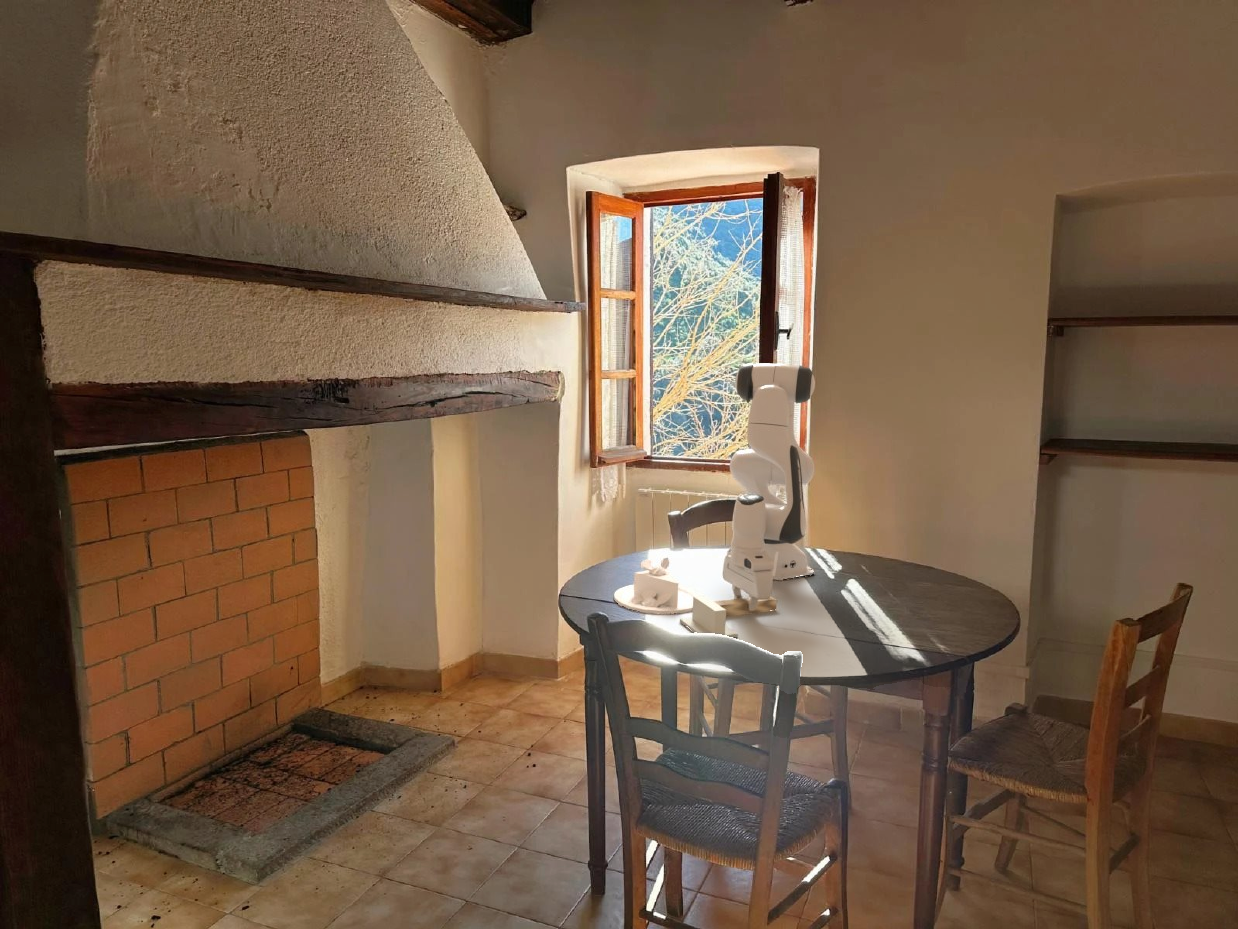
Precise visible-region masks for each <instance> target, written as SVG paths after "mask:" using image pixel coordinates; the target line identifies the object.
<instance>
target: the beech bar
mask: <svg viewBox="0 0 1238 929" xmlns="http://www.w3.org/2000/svg"><path fill="white" fill-rule="evenodd" d="M712 601H713V600H712ZM749 601H750V598H749V597H745V598H742V599H734V598H733V599H724V600H715V601H713V602H715V603H716V604H718V605H719V606H721V607H722V608H724V609H725V610H726V617H732V616H742V614H743V615H750V613H752V614H759V612H761V613H765V612H764V611H770V610H775V609H776V610H777V606H778V605H777V603H778V602H777V601H778V599H777V598H775V597H773V596H772V595H771V596H770V598H769V599H764V600H758V601H757V603H756V609H755V610H754V611H750V610H749V609H747V603H749ZM770 612H771V611H770Z"/></svg>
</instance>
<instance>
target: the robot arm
mask: <svg viewBox="0 0 1238 929" xmlns="http://www.w3.org/2000/svg"><path fill="white" fill-rule="evenodd" d="M813 373H814V372H813V371H812V369H811V368H810V367H807V366H804V365H799V366H798V365H794V364H793V365H792V364H787V363H778V362H777V363H754V362H751V363H750V362H749V363H745V364H744V363H743V364H742V365H741V366H740V367H739V369H738V371H737V374H736V375H735V379H734V380H735V382H734V383H735V384H734V385H735V388H736V389H735V390H736V393H737V395H738V396H739V397H740V398H741V399H743V400H744V401H745V402H746V404H749V403H750V402H751V404H750V408H749V414H748V419H747V420H748V421H747V427H746V428H747V430H746V431H747V432H746V435H747V436H746V437H747V438H746V440H747V444H748V446H749V448H748V449H742V450H737V451H736V452H734V454H733V455H732V457H731V459H730V462H729V471H730V474H731V476H732V478H733V479H734V480H735V481H736V482H737V483H739V485H741V487H742V488H743V489H744V491H745V493H744V494H741V495H739V496H738V497H736V499H735V504H734V508H733V513H732V522H731V523H732V524H731V530H732V532H733V534H732V538H731V543H730V548H729V549H728V550H727V552H726V556H725V557H724V560H723V567H722V578H723V581H725V582H727V583H729V584H730V585H731V588H732V589H731V590H732V592H733V599H742V598H743V597H744V596H743V595H742V591H743V592H744V593H745V594H748V595H749V597H748V598H750V601H749V603H747V609H749V610H750V611H754V610H755V609H756V603H757V601H758V600H764V599H769V598H770V596H771V597H772V593H773V583H774V582H773V581H774V580H776V581H784V580H783V579H787V578H793V577H796V576H800V575H806V574H809V573H813V572H814V573H815V571H814V569H813V568H812V567H810V566H809V565H808V559H807V558H808V557H807V555H806V553H805V552H804V551H803V550H801V549H800V548H799V547H798V546H797V545H796V544H795V543H797V542H799V541H800V540H801V539H803V538H804V537H805V535H806V532H807V526H808V525H807V523H808V522H807V518H806V510H805V504H804V490H803V489H804V488H803V486H806V485H808V484H809V483H810V482H811V481H812V479H813V477H814V476H815V469H816V468H815V463H814V460H813V458H812V457H811V456H810V454H808V453H807V452H805V451H804V450H803V449H802V448H801V447H800V445H799V444H798V442H797V440H796V437H795V431H794V427H795V426H794V420H795V419H794V418H795V404H802V403H806V402H807V401H809V400H811V397H812V395H813V394H814V392H815V388H816V381H815V376H814V374H813ZM769 486H778V487H779V486H780V487H785V497H786V502H785V501H784V500H783V499H781V498H780V497H778V496H776V495H774V494H773V493H771V491H770V490H769V488H768V487H769ZM811 569H812V570H811ZM793 579H794V578H793ZM787 580H788V579H787Z"/></svg>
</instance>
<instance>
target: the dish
mask: <svg viewBox="0 0 1238 929" xmlns="http://www.w3.org/2000/svg"><path fill="white" fill-rule="evenodd" d="M639 566H640V569H644V571H643V570H642V571H636V572H634V573H633V584H629V585H626V586H623V587H619V588H618V589H617V590H616V591H615V592H614V596H613V597H614V598H613V600H615V601H616V602H617V603H618V605H619V606H620V607H622V606H624V607H626V608H625V609H627V608H628V609H627V610H629V609H633V610H637V611H636V612H638V611H640V612H639V613H642V614H643V613H644V614H651V613H656V614H655V615H678V614H677V613H680V614H684V613H691V612H693V596H703V595H702V594H701V593H700V592H698V591H696V590H694V589H692V588H689V587H686V586H681V585H679V582H678V581H677V579H676V578H675V577H674V576H673V574H672V573H671V572H670V571H669V570H668V568H669V566H670V560H669V557H665V558H663V559H662V560H661V562H660V566H659V565H654V566H653V562H652V559H644V560H642V561H641V563H640V565H639ZM615 601H614V602H615ZM616 602H615V603H616ZM617 603H616V604H617ZM624 607H623V608H624ZM633 610H632V611H633ZM657 613H659V614H657ZM666 613H667V614H666ZM670 613H671V614H670ZM674 613H676V614H674Z"/></svg>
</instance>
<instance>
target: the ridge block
mask: <svg viewBox="0 0 1238 929" xmlns="http://www.w3.org/2000/svg"><path fill="white" fill-rule="evenodd" d="M691 612H692V613H691V615H692V616H691V617H685V618H679V623H680V624H681V623H682V624H683V625H682V624H681V625H682V626H684V625H685V626H688V627H689V628H690V629H691V630H692V631H691V633H693V632H697V633H715V634H722V635H727V636H729V637H737V638H736V639H738V637H739V633H738V632H736V631H735V630H733V629H732V628H730V627H728V626H727V625H726V624H727V622H726V621H727V616H726V610H725V609H724V608H722V607H721V606H719V605H718V604H716V603H715V602H713V600H712V599H710V598H708V597H707V596H705V595H702V596H693V611H691ZM685 626H684V627H685Z"/></svg>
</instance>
